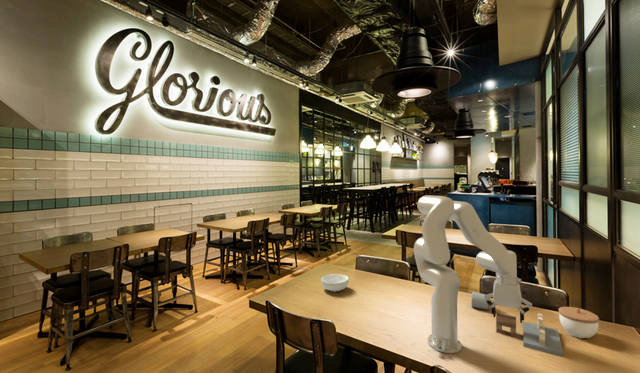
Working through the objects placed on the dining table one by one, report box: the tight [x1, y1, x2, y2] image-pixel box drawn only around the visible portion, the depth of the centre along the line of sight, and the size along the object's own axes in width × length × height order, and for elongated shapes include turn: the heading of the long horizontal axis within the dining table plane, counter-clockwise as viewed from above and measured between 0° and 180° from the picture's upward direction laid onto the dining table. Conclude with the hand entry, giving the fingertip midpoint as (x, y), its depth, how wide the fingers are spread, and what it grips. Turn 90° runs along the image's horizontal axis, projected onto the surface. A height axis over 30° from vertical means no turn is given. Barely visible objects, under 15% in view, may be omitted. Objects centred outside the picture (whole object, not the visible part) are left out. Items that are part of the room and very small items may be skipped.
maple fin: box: [536, 313, 545, 347], centre depth 116 cm, size 18×2×6 cm, turn 145°
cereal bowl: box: [320, 273, 349, 293], centre depth 173 cm, size 17×17×7 cm
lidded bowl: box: [558, 306, 600, 339], centre depth 120 cm, size 13×13×11 cm
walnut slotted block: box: [495, 312, 517, 338], centre depth 122 cm, size 4×7×7 cm, turn 55°
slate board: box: [522, 321, 564, 357], centre depth 117 cm, size 20×12×2 cm, turn 145°
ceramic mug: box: [470, 291, 491, 311], centre depth 147 cm, size 11×8×8 cm
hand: (507, 318), depth 122 cm, fingers open, 9 cm apart
